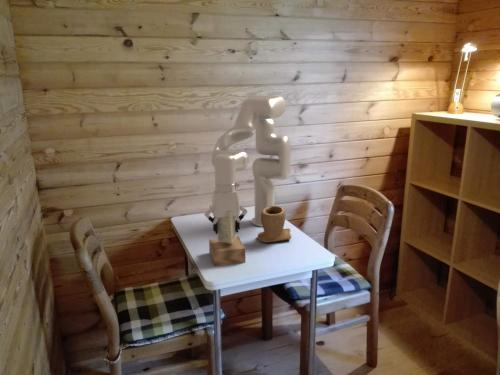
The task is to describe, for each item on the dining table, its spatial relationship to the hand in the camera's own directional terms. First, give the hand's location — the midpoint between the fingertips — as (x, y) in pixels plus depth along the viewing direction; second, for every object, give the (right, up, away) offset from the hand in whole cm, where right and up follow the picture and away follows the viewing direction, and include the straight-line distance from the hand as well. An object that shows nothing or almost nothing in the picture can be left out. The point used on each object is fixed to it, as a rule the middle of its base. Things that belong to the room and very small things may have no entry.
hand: (226, 231), depth 155 cm
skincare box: (0, -3, +1) cm, 4 cm away
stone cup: (+20, -6, +19) cm, 28 cm away
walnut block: (0, -11, +3) cm, 11 cm away
